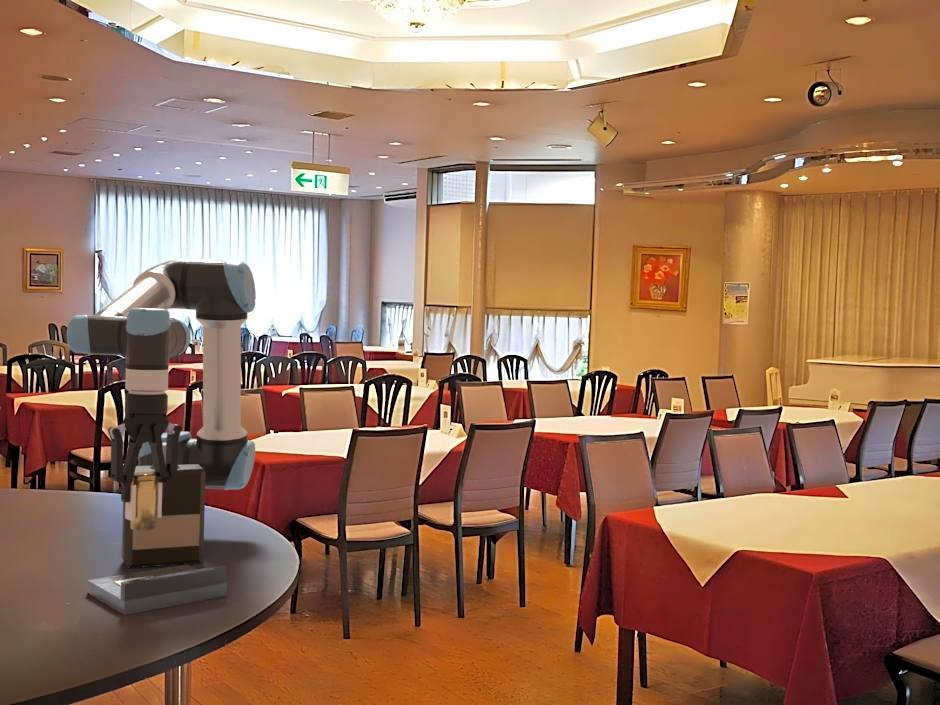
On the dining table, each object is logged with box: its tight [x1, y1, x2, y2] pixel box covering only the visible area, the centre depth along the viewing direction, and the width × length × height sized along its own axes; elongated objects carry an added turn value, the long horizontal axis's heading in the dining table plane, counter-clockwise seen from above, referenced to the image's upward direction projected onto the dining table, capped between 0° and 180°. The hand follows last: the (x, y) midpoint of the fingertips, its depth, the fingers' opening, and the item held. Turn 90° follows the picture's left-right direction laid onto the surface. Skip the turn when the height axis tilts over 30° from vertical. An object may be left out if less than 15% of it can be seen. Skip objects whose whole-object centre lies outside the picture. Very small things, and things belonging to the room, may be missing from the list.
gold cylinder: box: [131, 472, 157, 531], centre depth 187 cm, size 4×4×10 cm
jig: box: [87, 564, 228, 616], centre depth 190 cm, size 20×16×6 cm
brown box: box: [121, 443, 206, 569], centre depth 213 cm, size 8×16×25 cm, turn 115°
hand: (143, 517), depth 187 cm, fingers closed on gold cylinder, 4 cm apart
